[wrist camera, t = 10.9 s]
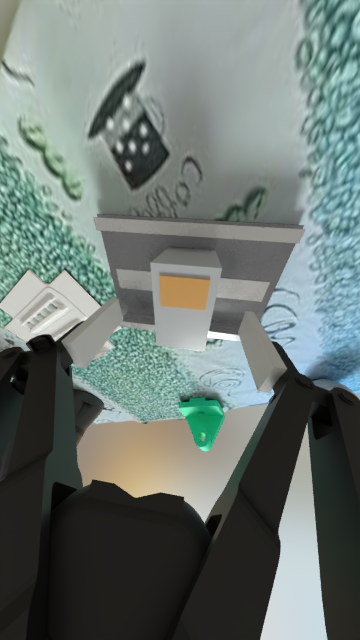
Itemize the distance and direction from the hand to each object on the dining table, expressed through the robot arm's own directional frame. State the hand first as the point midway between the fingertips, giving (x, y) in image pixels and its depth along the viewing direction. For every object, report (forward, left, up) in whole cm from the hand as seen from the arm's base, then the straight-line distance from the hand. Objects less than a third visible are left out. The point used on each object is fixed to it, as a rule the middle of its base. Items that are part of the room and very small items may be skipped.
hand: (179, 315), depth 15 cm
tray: (-28, -13, -10) cm, 32 cm away
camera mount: (+7, -38, -9) cm, 40 cm away
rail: (0, 0, -9) cm, 9 cm away
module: (0, 0, -8) cm, 8 cm away
